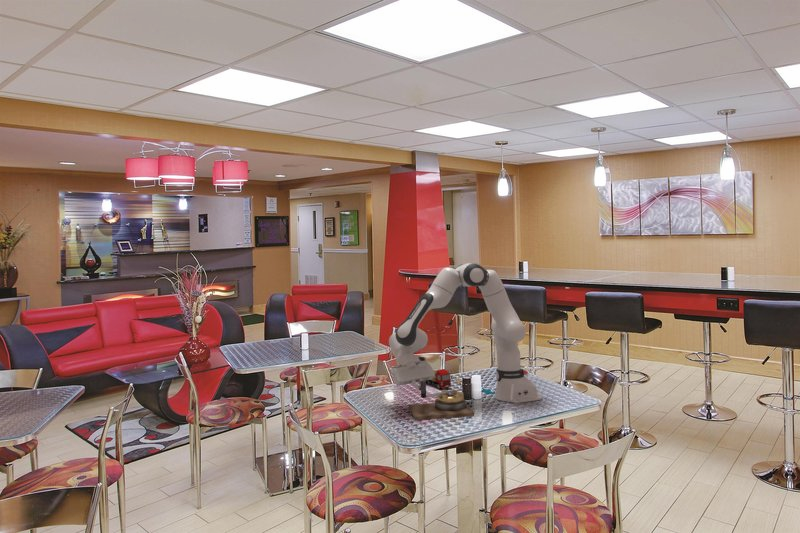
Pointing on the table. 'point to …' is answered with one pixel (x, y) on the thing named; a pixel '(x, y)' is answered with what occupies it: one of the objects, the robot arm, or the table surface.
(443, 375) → the toy truck
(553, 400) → the table surface
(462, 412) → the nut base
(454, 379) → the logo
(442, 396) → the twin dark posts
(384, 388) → the table surface
